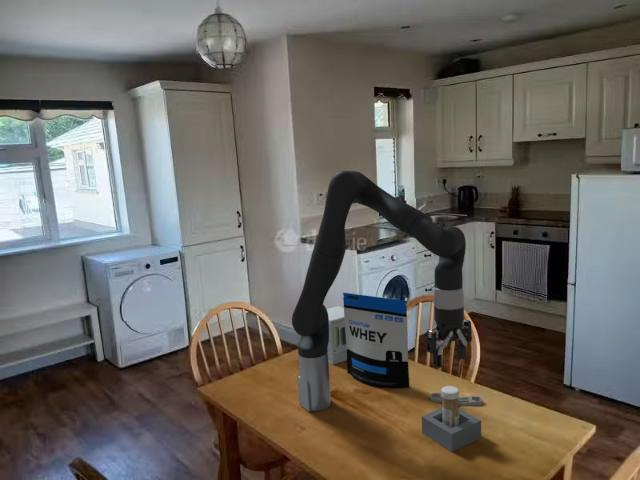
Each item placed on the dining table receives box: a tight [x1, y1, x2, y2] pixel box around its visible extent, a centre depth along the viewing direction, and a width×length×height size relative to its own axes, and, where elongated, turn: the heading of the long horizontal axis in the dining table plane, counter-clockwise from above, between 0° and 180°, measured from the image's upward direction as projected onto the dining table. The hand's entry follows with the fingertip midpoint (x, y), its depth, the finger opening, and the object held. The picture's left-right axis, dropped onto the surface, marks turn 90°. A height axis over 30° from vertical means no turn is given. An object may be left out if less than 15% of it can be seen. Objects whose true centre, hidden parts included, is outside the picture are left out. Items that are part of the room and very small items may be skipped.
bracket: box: [429, 392, 483, 407], centre depth 149 cm, size 8×2×15 cm
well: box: [421, 407, 482, 453], centre depth 131 cm, size 11×11×5 cm
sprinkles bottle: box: [440, 385, 460, 428], centre depth 131 cm, size 5×5×13 cm
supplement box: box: [326, 305, 347, 366], centre depth 189 cm, size 13×13×18 cm
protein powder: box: [342, 292, 410, 390], centre depth 164 cm, size 10×24×30 cm, turn 54°
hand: (449, 362), depth 128 cm, fingers open, 8 cm apart
